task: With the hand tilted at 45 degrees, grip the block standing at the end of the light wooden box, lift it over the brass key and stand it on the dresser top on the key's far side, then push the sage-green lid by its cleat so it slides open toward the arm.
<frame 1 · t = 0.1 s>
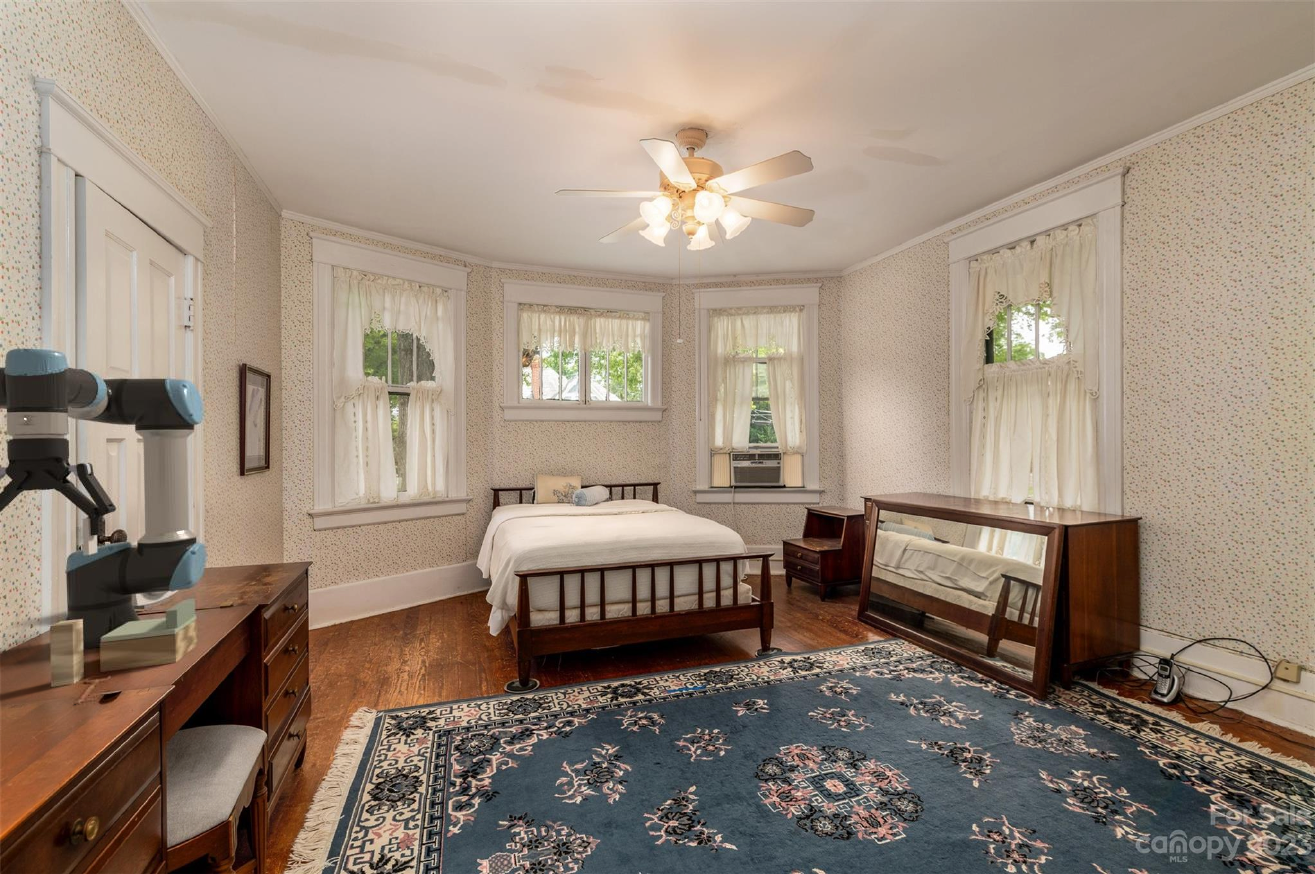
hand: (41, 557, 103), 28 cm above the table, tool pointing down, fingers open, 13 cm apart
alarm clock: (148, 607, 175), on the table
key: (95, 691, 114), on the table
block: (67, 681, 118), on the table
light wooden box: (151, 657, 131), on the table
lid: (151, 618, 131), point 9 cm above the table, slide at 0.0 cm
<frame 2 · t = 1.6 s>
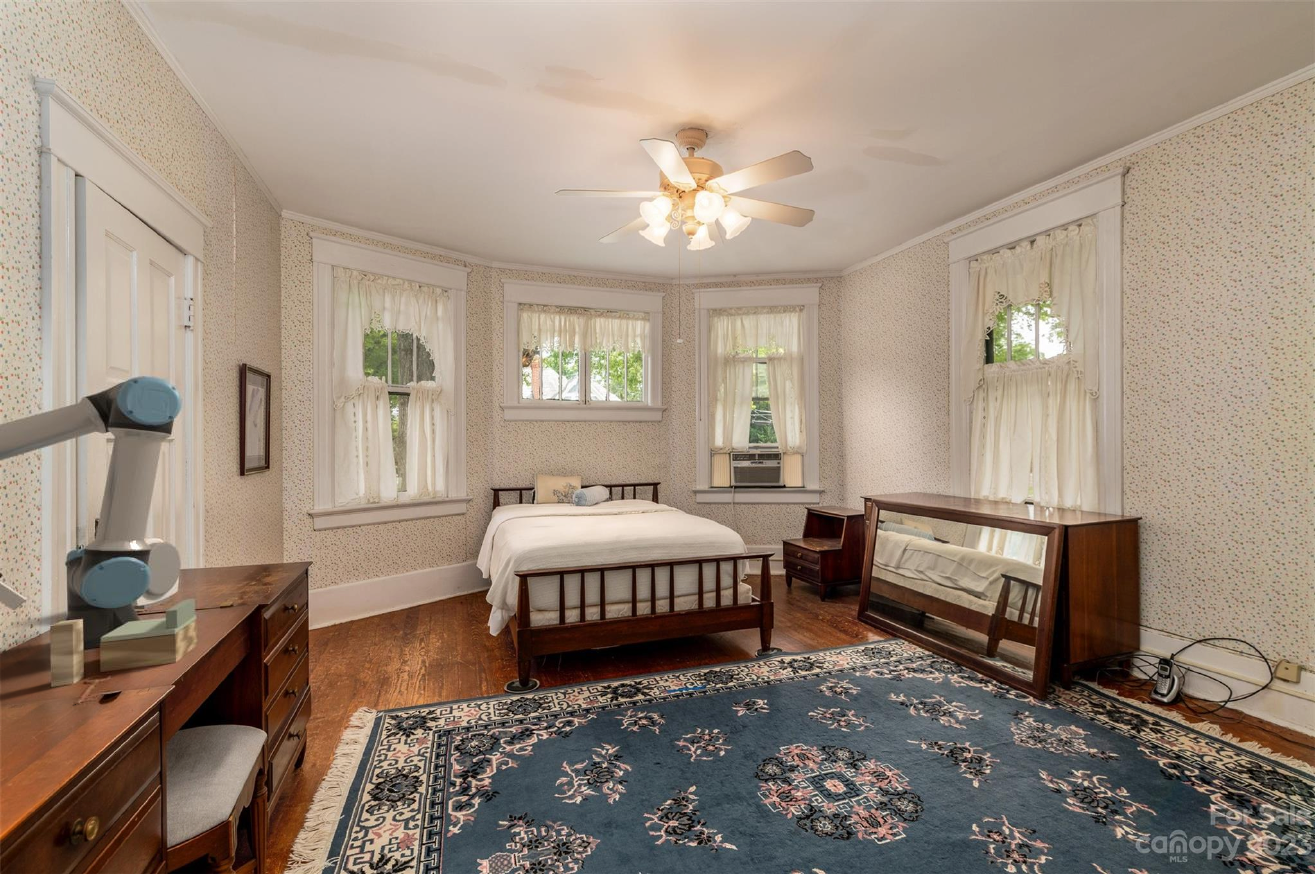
nothing on the table moved.
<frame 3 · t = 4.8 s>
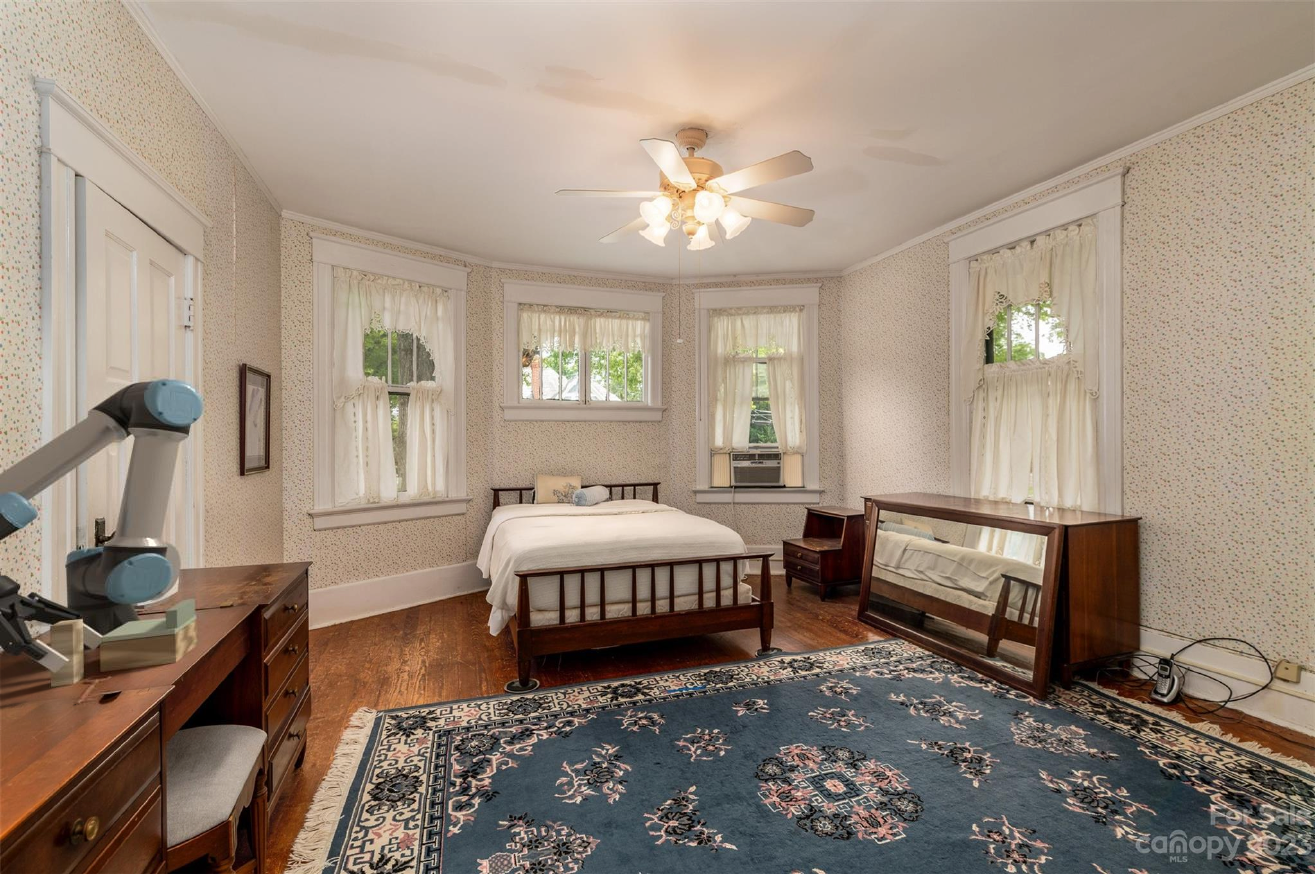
hand: (82, 654, 119), 5 cm above the table, tool tilted 45°, fingers open, 13 cm apart
nothing on the table moved.
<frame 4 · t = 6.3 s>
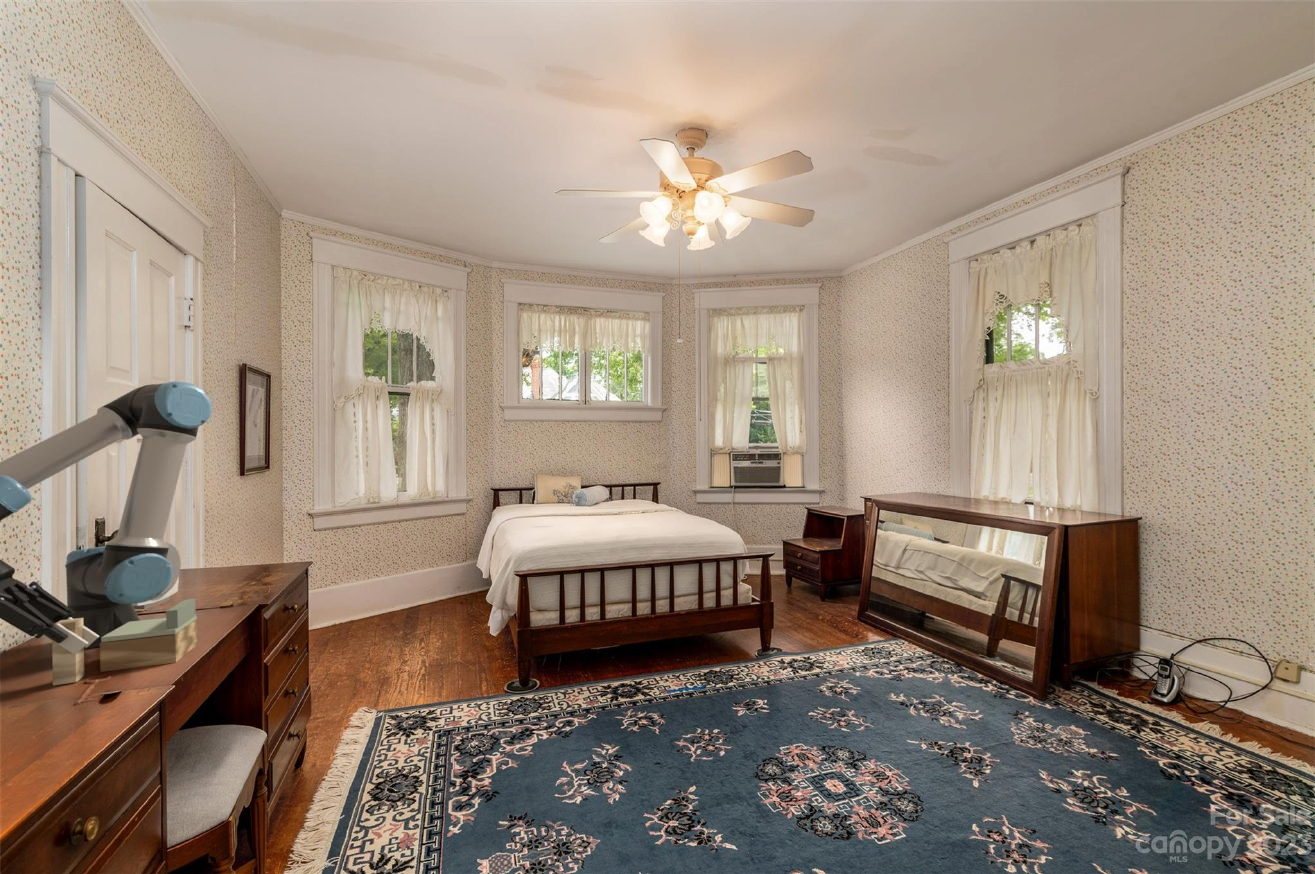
hand: (87, 645, 120), 7 cm above the table, tool tilted 45°, fingers closed on block, 3 cm apart
block: (68, 680, 119), on the table, touching gripper
everything else where it was.
when the fingers open (5 cm above the table, at t = 10.9 s): block stays where it is, on the table.
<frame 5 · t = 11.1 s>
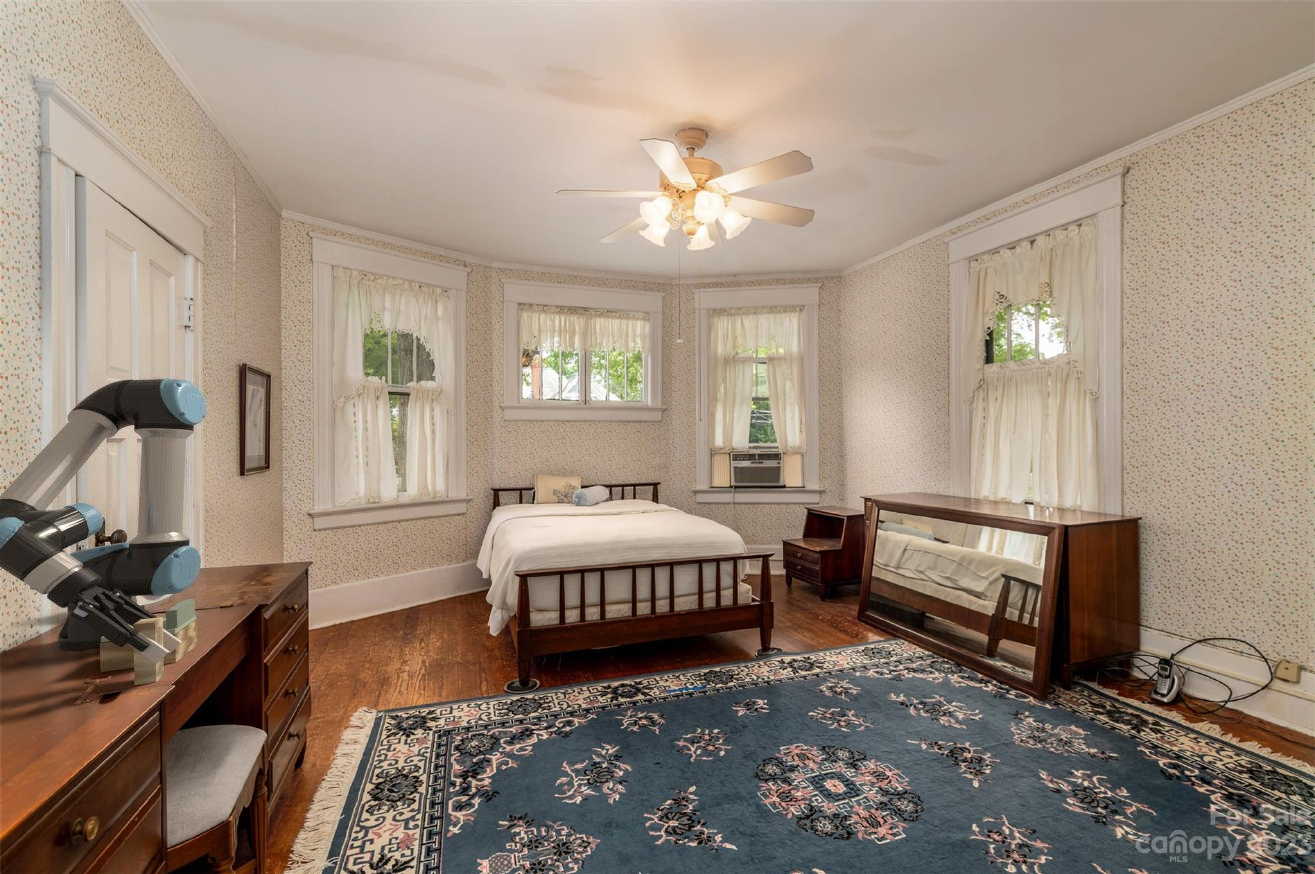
hand: (169, 652, 120), 5 cm above the table, tool tilted 45°, fingers open, 5 cm apart
block: (149, 680, 118), on the table
everything else where it was.
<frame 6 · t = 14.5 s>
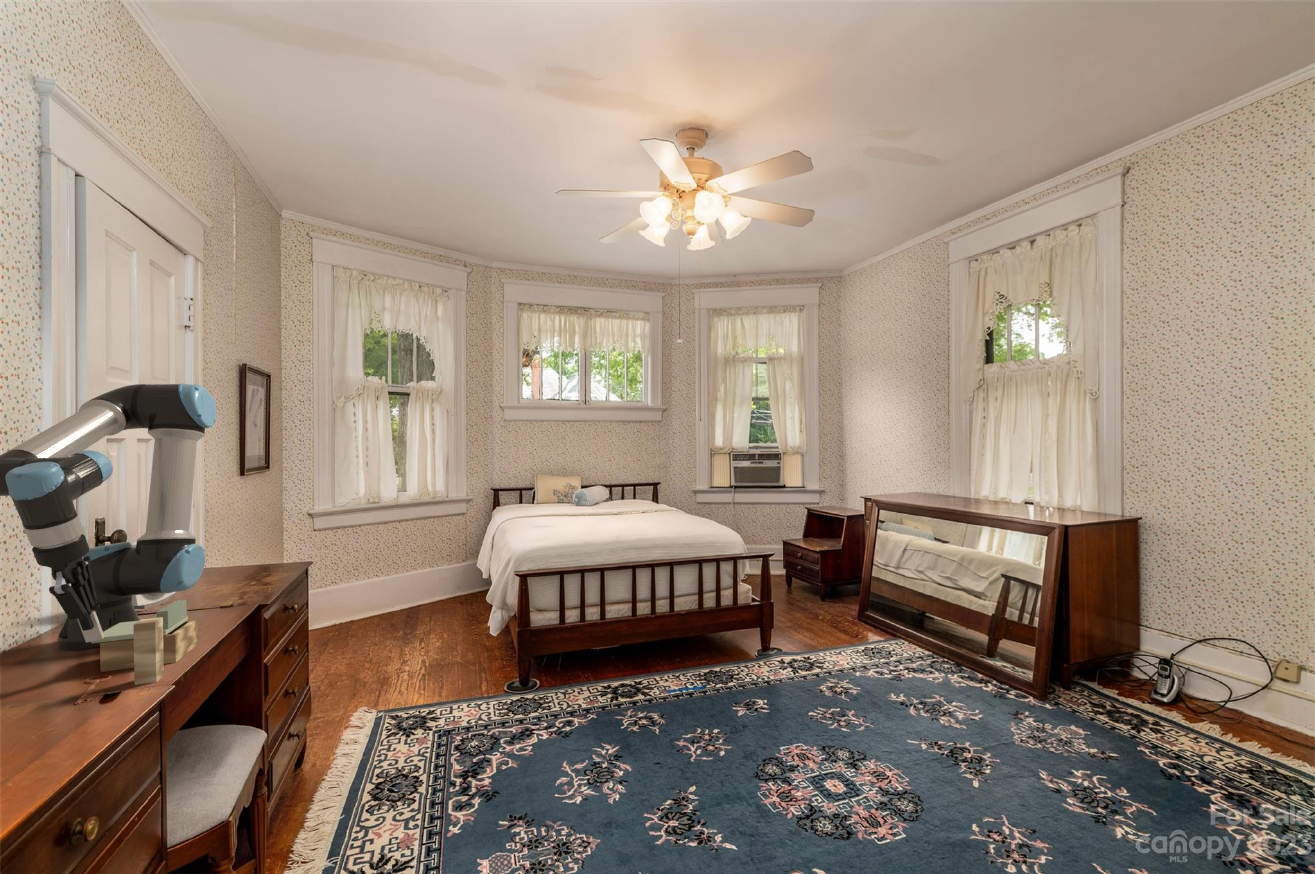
hand: (95, 639, 123), 7 cm above the table, tool tilted 20°, fingers closed
lid: (142, 619, 131), point 9 cm above the table, slide at 1.7 cm, touching gripper
everything else where it was.
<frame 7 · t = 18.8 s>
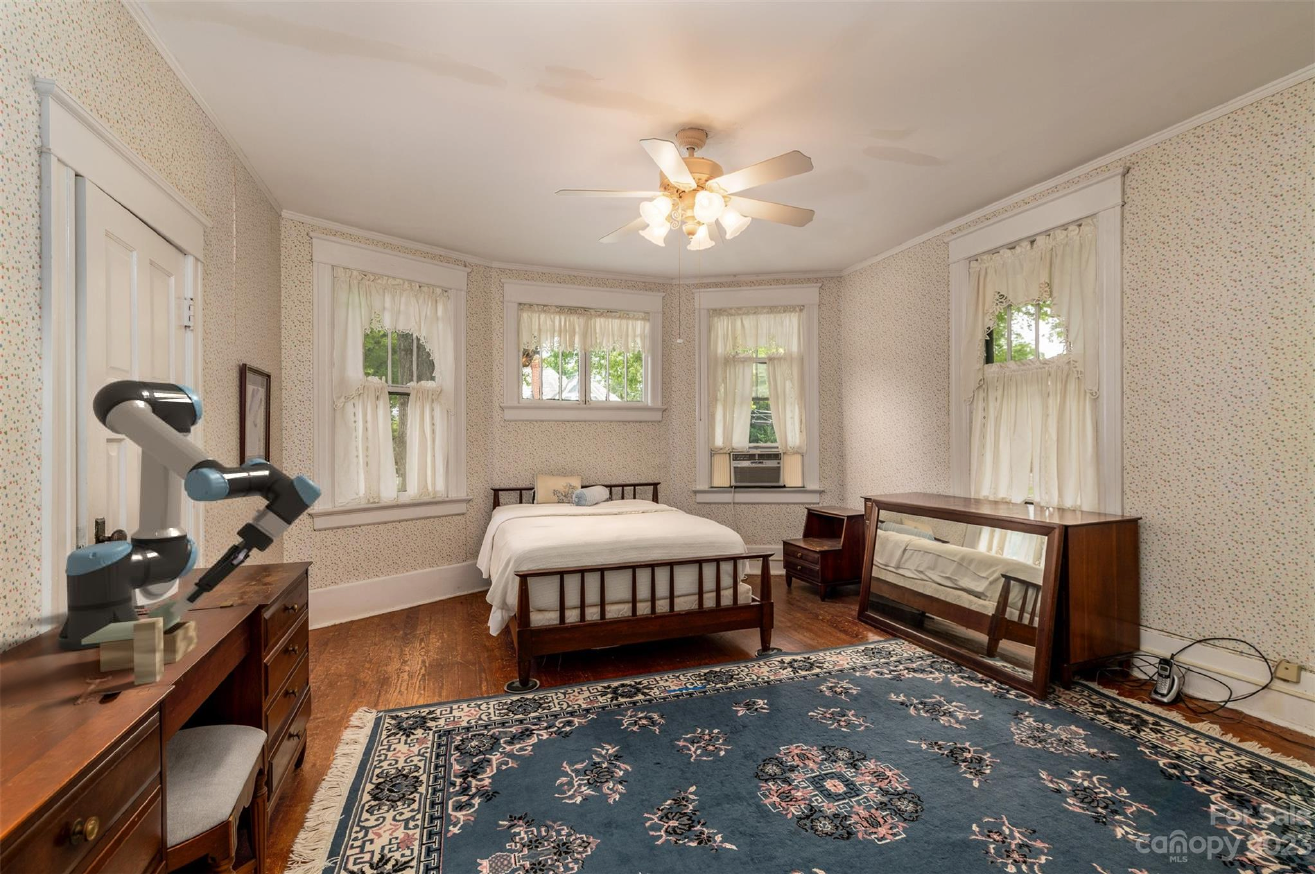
hand: (175, 612, 132), 10 cm above the table, tool tilted 45°, fingers closed
lid: (133, 620, 130), point 9 cm above the table, slide at 3.2 cm, touching gripper
everything else where it was.
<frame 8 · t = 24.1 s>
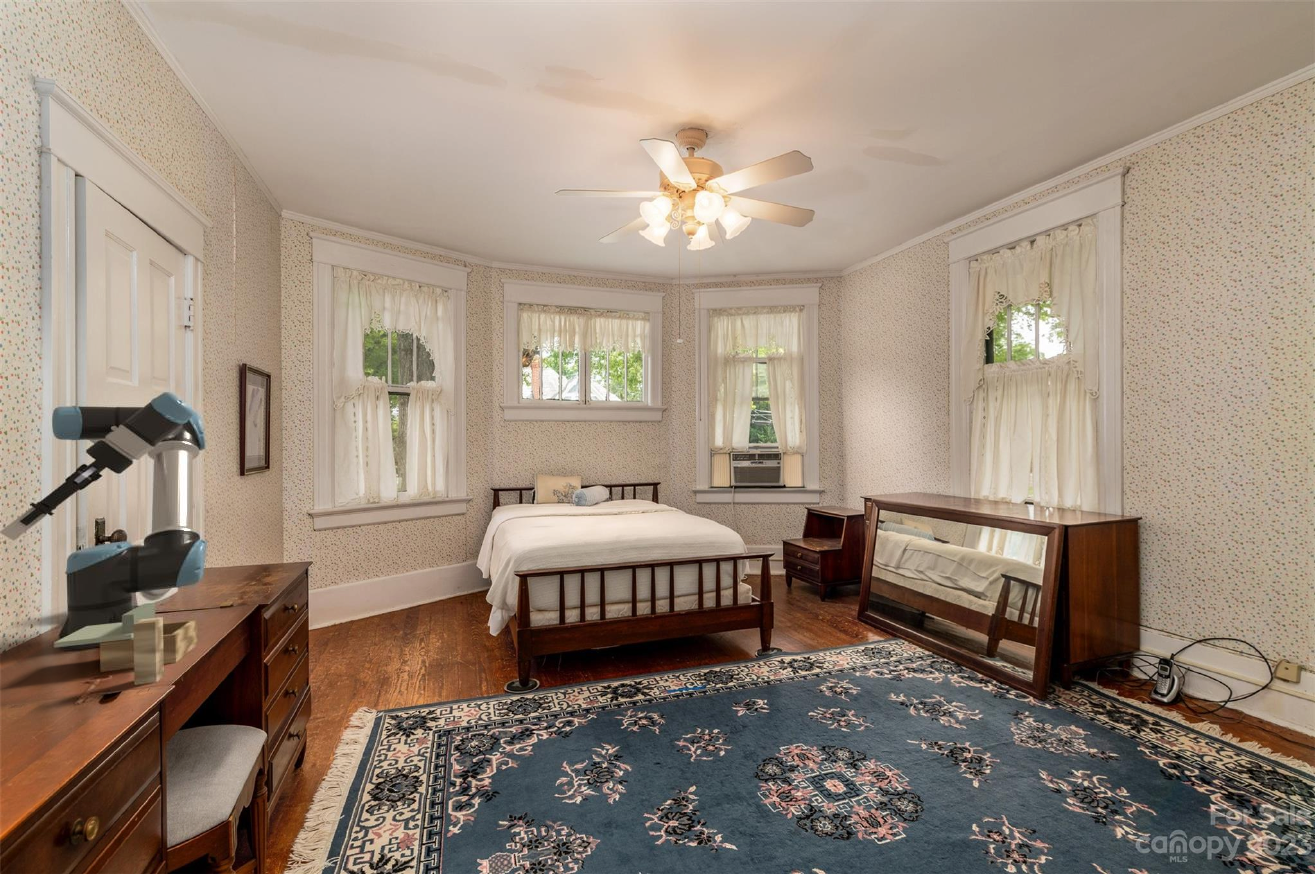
hand: (7, 536, 117), 30 cm above the table, tool tilted 45°, fingers closed
lid: (108, 623, 129), point 9 cm above the table, slide at 7.6 cm
everything else where it was.
at the end: block inside the target area (1.0 cm from its centre), on the table; block tilted 0°; lid slide at 7.6 cm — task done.
